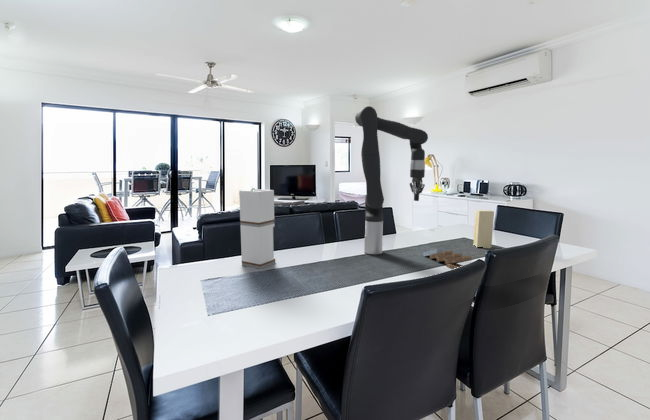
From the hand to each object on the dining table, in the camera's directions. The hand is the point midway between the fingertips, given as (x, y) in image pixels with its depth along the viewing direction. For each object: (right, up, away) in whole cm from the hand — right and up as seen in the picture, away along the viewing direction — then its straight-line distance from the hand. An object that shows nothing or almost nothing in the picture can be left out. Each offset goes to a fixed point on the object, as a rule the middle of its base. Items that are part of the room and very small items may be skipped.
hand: (416, 200), depth 186 cm
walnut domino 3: (+8, -30, -26) cm, 40 cm away
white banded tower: (-81, -31, -24) cm, 90 cm away
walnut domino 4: (+9, -31, -28) cm, 43 cm away
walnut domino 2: (+6, -29, -21) cm, 36 cm away
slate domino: (+3, -28, -10) cm, 30 cm away
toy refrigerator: (+40, -26, +9) cm, 48 cm away
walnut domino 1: (+4, -28, -16) cm, 33 cm away
